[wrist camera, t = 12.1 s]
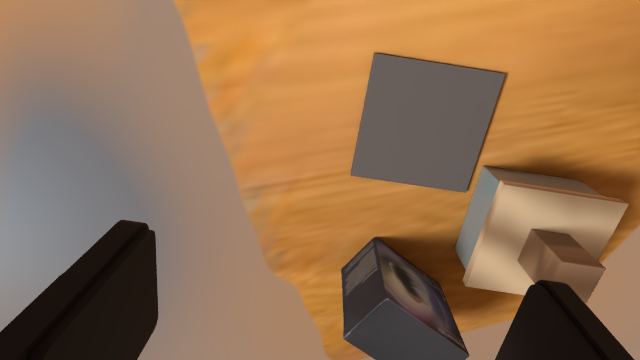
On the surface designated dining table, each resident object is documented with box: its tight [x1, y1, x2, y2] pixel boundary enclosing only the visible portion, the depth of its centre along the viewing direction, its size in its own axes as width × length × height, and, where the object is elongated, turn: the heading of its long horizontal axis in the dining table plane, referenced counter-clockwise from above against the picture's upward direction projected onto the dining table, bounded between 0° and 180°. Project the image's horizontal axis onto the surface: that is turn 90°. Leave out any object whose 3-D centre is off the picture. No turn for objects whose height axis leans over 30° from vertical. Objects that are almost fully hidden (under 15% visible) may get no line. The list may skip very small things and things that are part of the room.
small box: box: [341, 237, 469, 360], centre depth 39 cm, size 11×6×10 cm, turn 52°
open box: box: [455, 166, 602, 269], centre depth 38 cm, size 10×10×5 cm
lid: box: [463, 180, 629, 303], centre depth 33 cm, size 11×11×6 cm
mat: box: [351, 53, 505, 193], centre depth 36 cm, size 12×12×1 cm
